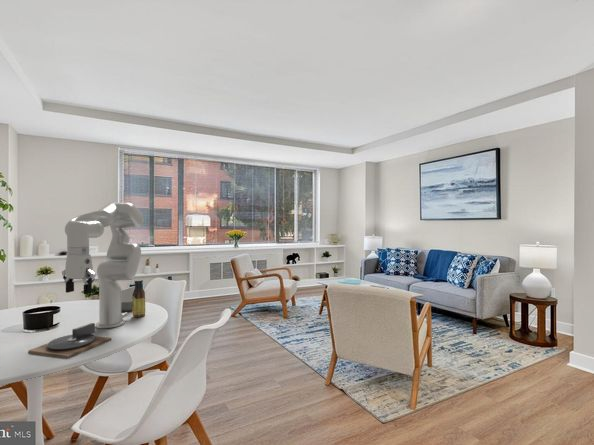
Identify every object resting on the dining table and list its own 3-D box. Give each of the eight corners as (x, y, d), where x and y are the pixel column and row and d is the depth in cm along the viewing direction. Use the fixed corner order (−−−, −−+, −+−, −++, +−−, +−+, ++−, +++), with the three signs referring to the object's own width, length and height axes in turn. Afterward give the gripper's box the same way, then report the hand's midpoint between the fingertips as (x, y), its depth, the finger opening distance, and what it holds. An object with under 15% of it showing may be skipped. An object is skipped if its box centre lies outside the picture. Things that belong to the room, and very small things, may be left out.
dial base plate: (75, 335, 147) (75, 332, 147) (111, 340, 142) (111, 337, 142) (28, 352, 128) (28, 349, 128) (68, 358, 123) (68, 355, 123)
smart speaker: (125, 308, 195) (125, 284, 195) (140, 308, 195) (140, 284, 195) (116, 312, 185) (116, 287, 185) (132, 312, 185) (132, 287, 185)
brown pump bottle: (135, 314, 181) (135, 278, 181) (147, 314, 181) (147, 278, 181) (130, 318, 174) (130, 281, 174) (142, 318, 174) (142, 280, 174)
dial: (78, 333, 147) (78, 321, 147) (107, 336, 142) (107, 324, 142) (37, 348, 129) (37, 334, 129) (69, 352, 125) (69, 338, 125)
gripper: (102, 251, 136) (102, 292, 136) (71, 249, 141) (71, 289, 141) (86, 253, 128) (86, 296, 129) (53, 251, 134) (54, 293, 134)
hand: (78, 292), depth 135 cm, fingers open, 9 cm apart
